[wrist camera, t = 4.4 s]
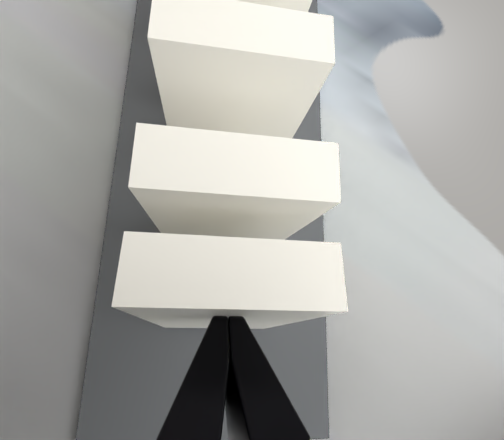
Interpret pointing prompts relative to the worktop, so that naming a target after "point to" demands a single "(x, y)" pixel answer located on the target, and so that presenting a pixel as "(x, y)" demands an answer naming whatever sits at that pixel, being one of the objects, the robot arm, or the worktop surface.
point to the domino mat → (176, 339)
